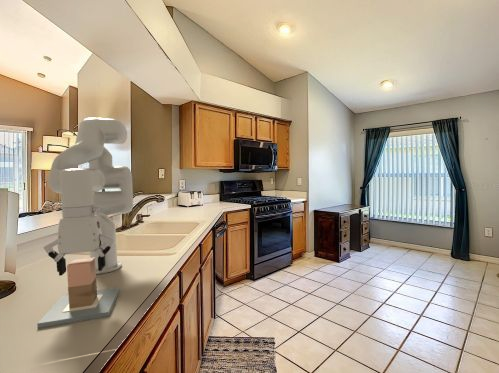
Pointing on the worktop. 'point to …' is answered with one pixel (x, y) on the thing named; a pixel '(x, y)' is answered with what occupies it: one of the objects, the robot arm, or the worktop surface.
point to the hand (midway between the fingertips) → (82, 271)
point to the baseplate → (80, 309)
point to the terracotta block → (81, 272)
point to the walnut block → (82, 295)
